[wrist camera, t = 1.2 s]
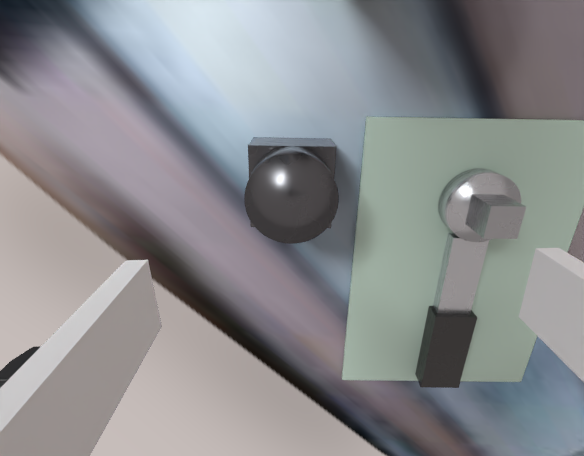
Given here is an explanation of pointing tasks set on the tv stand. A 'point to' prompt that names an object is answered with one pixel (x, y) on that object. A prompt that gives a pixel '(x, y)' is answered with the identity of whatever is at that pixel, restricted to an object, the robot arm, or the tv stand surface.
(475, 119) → the tool mat
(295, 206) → the dark grey door knob
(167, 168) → the tv stand surface
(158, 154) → the tv stand surface
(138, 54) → the tv stand surface
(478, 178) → the ratchet
